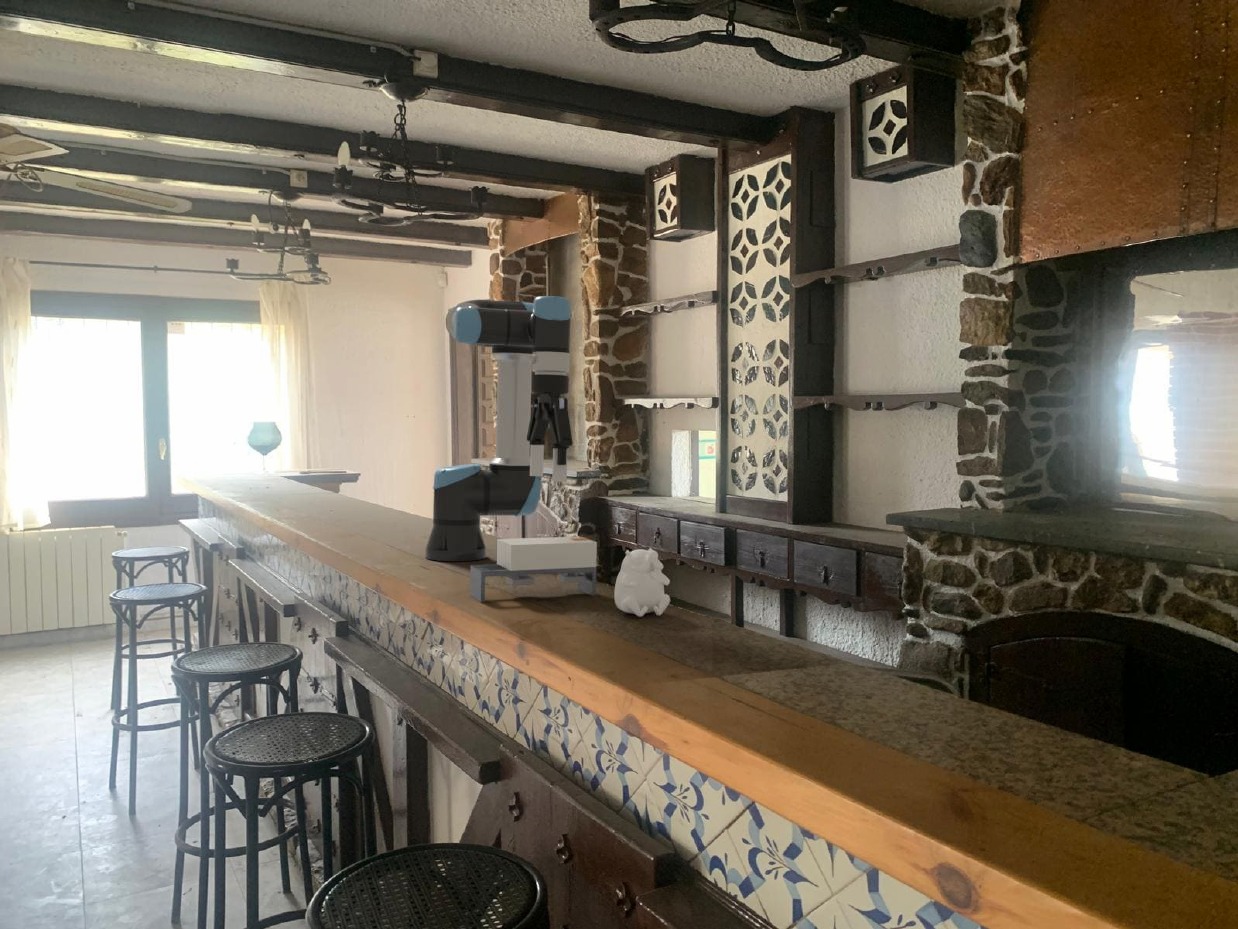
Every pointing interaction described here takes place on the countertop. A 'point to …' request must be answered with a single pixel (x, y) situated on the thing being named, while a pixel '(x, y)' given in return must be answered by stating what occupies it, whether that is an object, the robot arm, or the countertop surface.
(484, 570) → the rail
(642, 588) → the figurine
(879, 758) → the countertop surface
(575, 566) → the white rectangular block
